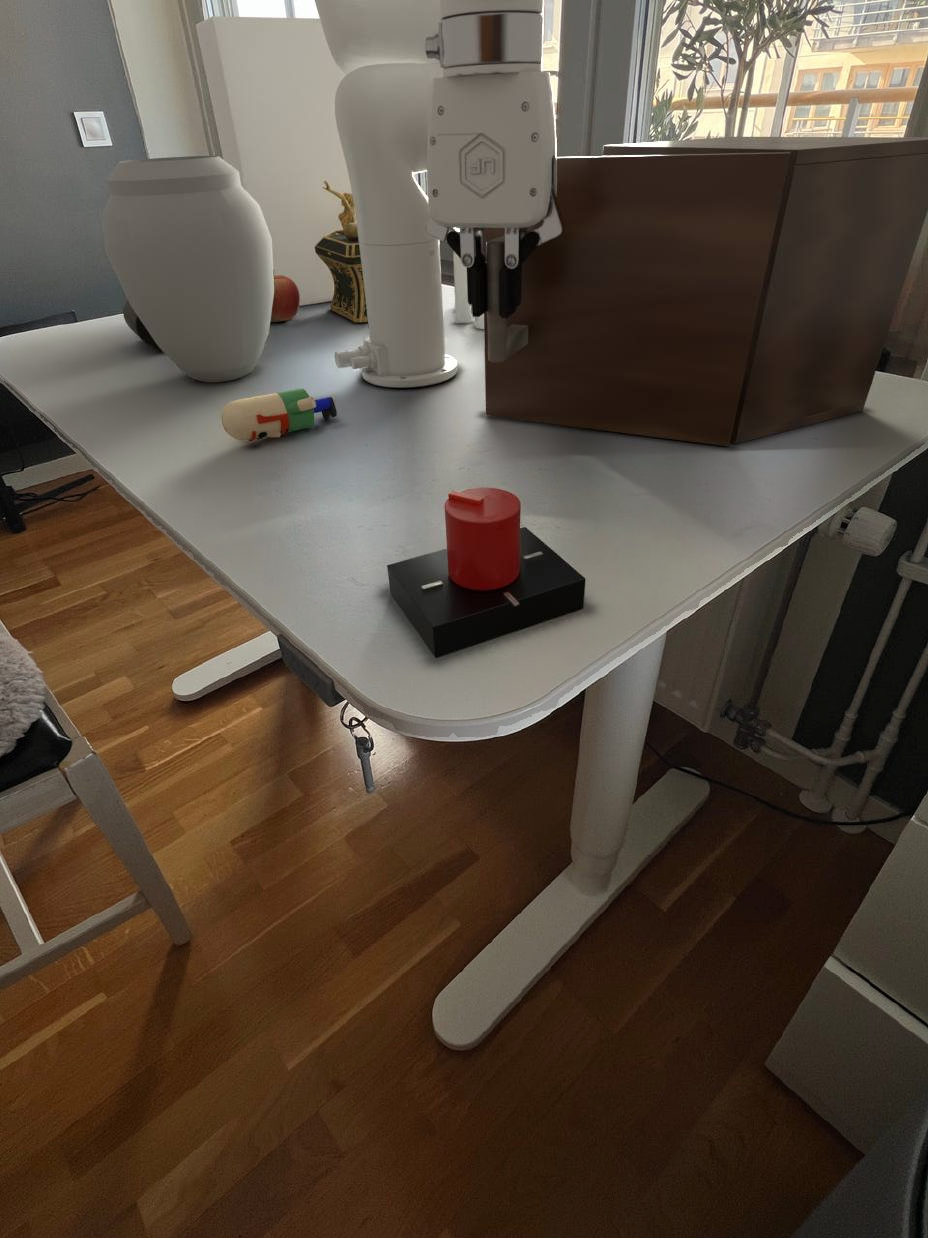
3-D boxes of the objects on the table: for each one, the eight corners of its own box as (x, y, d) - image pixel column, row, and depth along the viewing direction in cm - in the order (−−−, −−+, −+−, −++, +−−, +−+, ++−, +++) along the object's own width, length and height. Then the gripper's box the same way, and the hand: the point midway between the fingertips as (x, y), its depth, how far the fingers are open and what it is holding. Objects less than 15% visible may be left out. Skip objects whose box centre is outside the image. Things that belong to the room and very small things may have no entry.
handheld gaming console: (473, 314, 122) (472, 323, 109) (457, 315, 122) (455, 323, 109) (471, 244, 117) (470, 244, 103) (455, 245, 117) (452, 245, 104)
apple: (282, 313, 120) (272, 263, 115) (313, 318, 116) (305, 266, 111) (246, 323, 115) (235, 271, 110) (278, 328, 111) (268, 275, 106)
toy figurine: (321, 432, 79) (221, 453, 73) (310, 393, 78) (207, 411, 72) (349, 419, 72) (240, 441, 66) (337, 376, 71) (226, 394, 65)
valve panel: (438, 663, 42) (436, 629, 40) (387, 591, 48) (383, 559, 47) (587, 613, 45) (590, 580, 44) (521, 552, 52) (522, 521, 50)
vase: (294, 348, 101) (258, 151, 86) (296, 388, 86) (253, 157, 71) (159, 361, 98) (98, 159, 83) (136, 405, 83) (57, 167, 68)
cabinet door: (718, 474, 61) (783, 158, 47) (459, 437, 70) (447, 164, 56) (730, 442, 67) (791, 151, 52) (489, 412, 76) (485, 158, 62)
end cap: (131, 342, 107) (117, 296, 103) (177, 335, 110) (164, 290, 106) (144, 356, 100) (129, 307, 96) (192, 348, 103) (179, 300, 99)
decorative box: (321, 308, 122) (301, 179, 110) (370, 301, 125) (356, 174, 113) (363, 331, 107) (345, 185, 96) (417, 322, 111) (406, 180, 99)
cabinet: (734, 444, 66) (798, 149, 52) (586, 375, 85) (602, 145, 71) (863, 410, 72) (952, 137, 58) (697, 353, 91) (733, 136, 77)
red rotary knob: (531, 562, 46) (533, 491, 43) (498, 598, 42) (497, 524, 39) (471, 546, 48) (468, 477, 45) (434, 579, 45) (429, 507, 41)
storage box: (269, 310, 122) (212, 15, 98) (252, 300, 129) (195, 24, 105) (374, 294, 130) (344, 18, 106) (352, 285, 137) (320, 26, 113)
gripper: (375, 56, 50) (398, 320, 61) (586, 39, 45) (570, 328, 56) (415, 60, 55) (430, 301, 67) (607, 46, 51) (588, 308, 62)
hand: (494, 312), depth 61 cm, fingers closed on cabinet door, 2 cm apart
